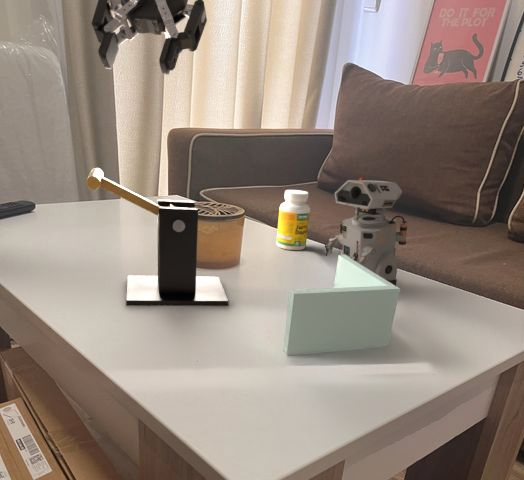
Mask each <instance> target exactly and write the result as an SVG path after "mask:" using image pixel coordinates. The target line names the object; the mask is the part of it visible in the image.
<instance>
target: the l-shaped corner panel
mask: <svg viewBox="0 0 524 480" xmlns="http://www.w3.org/2000/svg"><path fill="white" fill-rule="evenodd" d="M400 292H401V288H400V287H398V286H397V285H396V286H395V285H393V284H392V283H390V282H388V281H387V280H385V279H383V278H382V277H380V276H379V275H377V274H375V273H374V272H372V271H370V270H369V269H367V268H366V267H364V266H362V265H361V264H359V263H357V262H356V261H354V260H353V259H351V258H349V257H348V256H346V255H341V254H338V257H337V263H336V268H335V275H334V281H333V287H326V288H325V287H324V288H303V289H301V288H300V289H290V290H289V294H288V304H287V311H286V319H285V327H284V337H283V345H282V352H283V353H284V355H286V356H297V355H298V356H299V355H308V354H318V353H319V354H320V353H329V352H341V351H350V350H351V351H352V350H361V349H372V348H385V347H389V342H390V337H391V334H392V329H393V324H394V319H395V315H396V310H397V305H398V301H399V296H400Z"/></svg>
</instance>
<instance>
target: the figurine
mask: <svg viewBox="0 0 524 480" xmlns="http://www.w3.org/2000/svg"><path fill="white" fill-rule="evenodd" d="M402 194H403V191H402V189H401V188H400V186H399V185H398V184H397V183H396V182H394V181H386V180H371V179H370V180H369V179H368V180H367V179H366V180H365V177H360V178H359V179H347V180H346V181H345V182H344V183H343V184H342V185H341V186H340V187H338V189H337V190H336V191H335V192H334V199H335V204H339V205H344V206H350V207H353V210H354V211H355V212H354V216H353V217H350V218H346V219H344V220H343V221H340V223H339V233H338V234H337V235H336V236H335V237H331V238H329V239H328V243H324V248H325V257H327V256H328V253H330V254H332V252H333V249H334V248H336V246H337V244H341V245H342V248H341V253H340V255H346V256H348V257H349V258H351V259H353V260H354V261H356V262H357V263H359V264H361V265H362V266H364V267H366V268H367V269H369V270H370V271H372V272H374V273H375V274H377V275H379V276H380V277H382V278H383V279H385V280H387V281H388V282H390V283H392V284H393V285H395V286H396V287H397V282H398V280H397V274H398V273H397V272H398V259H397V256H396V250H397V249H396V243H398V245H400V246H405V245H406V244H407V232H408V221H406V220H405V218H404V217H403V216H402V215H396V216H394V217H392V218H391V217H388V216H385V214H386V212H387V210H386V209H392V208H393V206H394V205H395V203H396V201H397V200H399V198H400V197H401V196H402ZM397 218H401V220H402V221H400V224H399V225H400V226H399V231H397V225H398V224H397V222H398V220H397Z"/></svg>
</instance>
